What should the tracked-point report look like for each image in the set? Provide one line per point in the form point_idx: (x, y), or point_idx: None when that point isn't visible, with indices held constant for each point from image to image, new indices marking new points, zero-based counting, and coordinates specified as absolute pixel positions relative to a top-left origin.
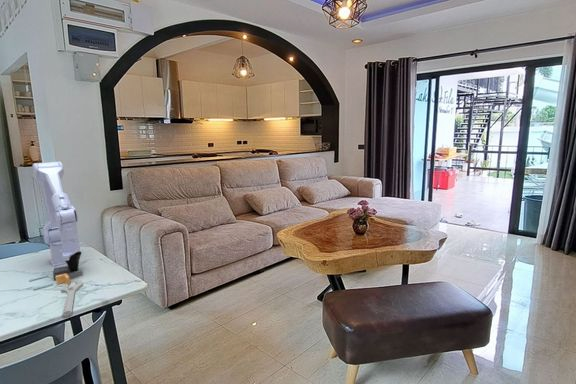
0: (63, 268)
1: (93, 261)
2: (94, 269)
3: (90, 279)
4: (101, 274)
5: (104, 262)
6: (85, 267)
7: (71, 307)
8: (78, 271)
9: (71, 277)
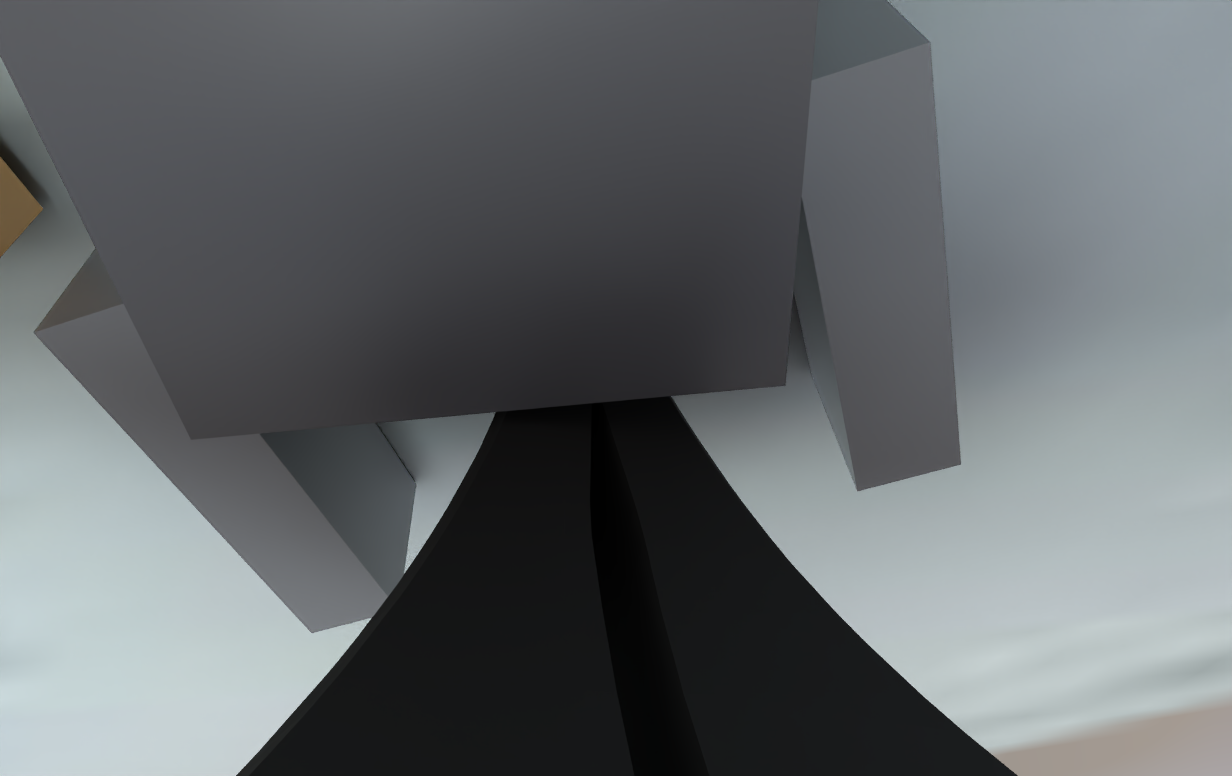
0: (465, 232)
1: (1220, 573)
2: None
3: (59, 641)
4: None
5: (958, 718)
6: (941, 485)
7: None
8: (279, 571)
9: None
